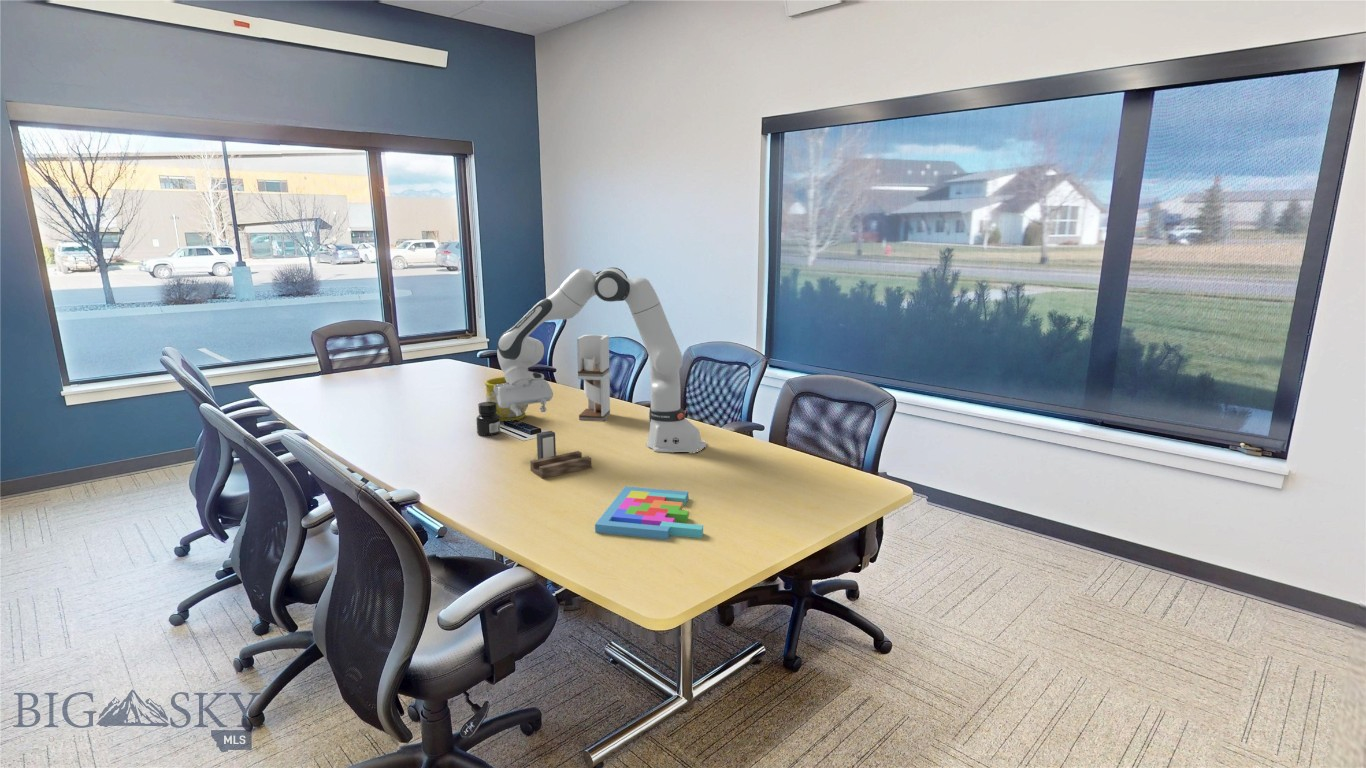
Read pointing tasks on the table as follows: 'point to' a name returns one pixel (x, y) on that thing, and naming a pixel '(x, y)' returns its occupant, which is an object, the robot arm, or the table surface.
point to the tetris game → (648, 514)
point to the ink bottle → (488, 419)
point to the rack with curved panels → (594, 375)
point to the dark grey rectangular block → (546, 444)
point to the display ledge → (560, 464)
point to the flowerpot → (492, 397)
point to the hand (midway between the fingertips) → (531, 413)
